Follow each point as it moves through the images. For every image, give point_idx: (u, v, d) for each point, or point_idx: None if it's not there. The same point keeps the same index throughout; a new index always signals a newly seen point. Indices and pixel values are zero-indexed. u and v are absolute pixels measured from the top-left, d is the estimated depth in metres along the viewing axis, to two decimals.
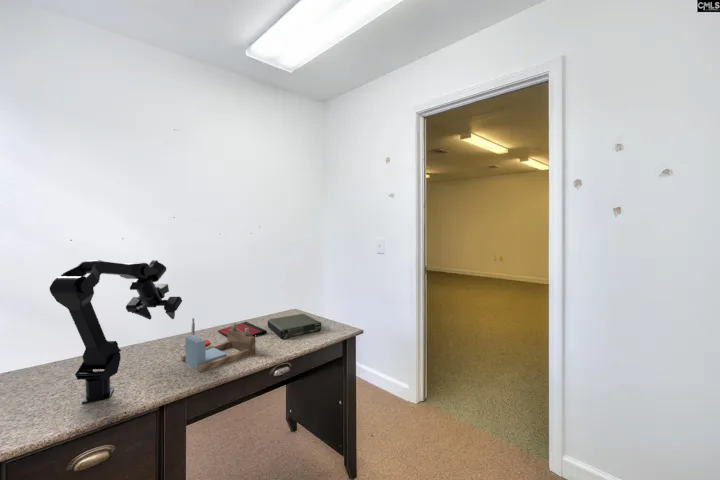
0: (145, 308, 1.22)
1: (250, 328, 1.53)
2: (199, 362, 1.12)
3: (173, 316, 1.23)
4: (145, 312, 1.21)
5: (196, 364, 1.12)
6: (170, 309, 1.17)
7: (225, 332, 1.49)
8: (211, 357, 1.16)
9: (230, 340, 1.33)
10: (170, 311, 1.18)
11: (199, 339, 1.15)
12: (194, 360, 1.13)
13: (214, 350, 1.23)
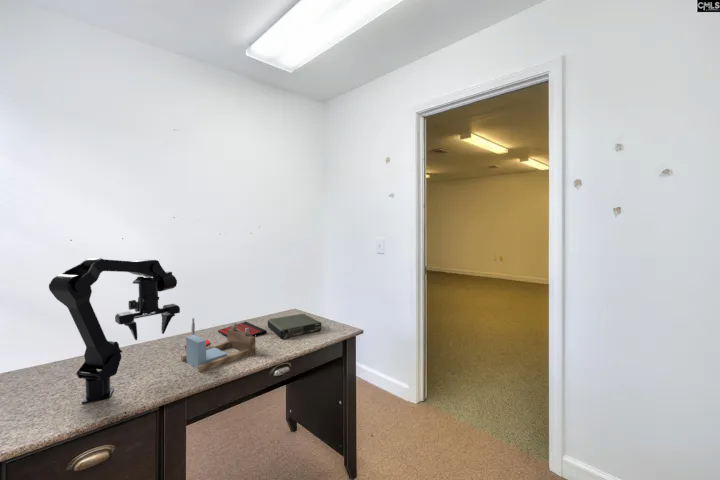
0: None
1: (250, 328, 1.53)
2: (200, 362, 1.12)
3: None
4: None
5: (196, 364, 1.12)
6: (175, 310, 1.15)
7: (225, 332, 1.49)
8: (212, 357, 1.17)
9: (230, 340, 1.33)
10: (174, 313, 1.15)
11: (200, 339, 1.15)
12: (195, 360, 1.13)
13: (215, 350, 1.23)
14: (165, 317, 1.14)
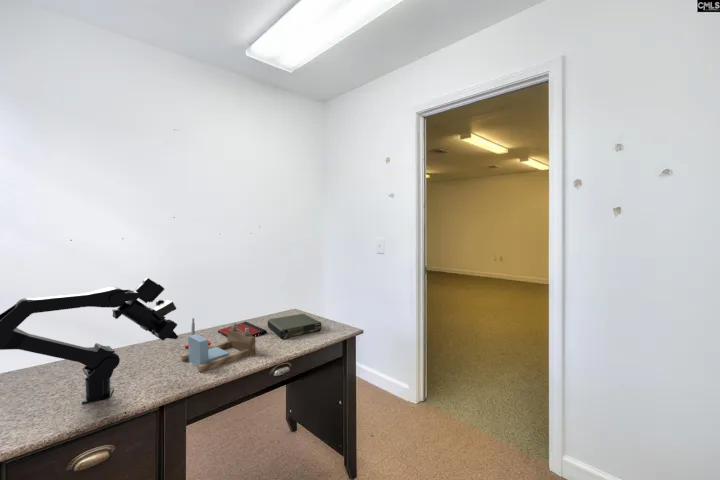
0: None
1: (250, 328, 1.53)
2: (202, 361, 1.13)
3: (173, 337, 1.09)
4: None
5: (198, 363, 1.13)
6: (159, 338, 0.99)
7: (225, 332, 1.49)
8: (214, 356, 1.17)
9: (230, 340, 1.33)
10: None
11: (202, 338, 1.15)
12: (197, 359, 1.14)
13: (217, 349, 1.24)
14: None
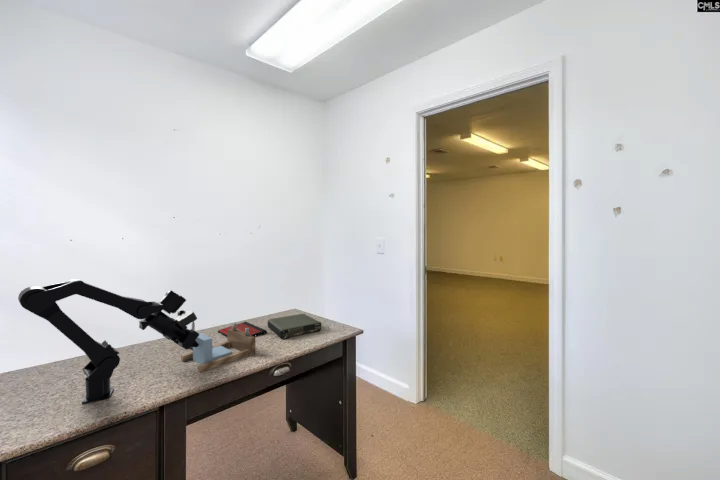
0: None
1: (250, 328, 1.53)
2: (206, 359, 1.14)
3: (194, 345, 1.15)
4: None
5: (203, 361, 1.14)
6: None
7: (225, 332, 1.49)
8: (218, 355, 1.19)
9: (230, 340, 1.33)
10: None
11: (206, 337, 1.17)
12: (201, 357, 1.15)
13: (220, 348, 1.25)
14: None
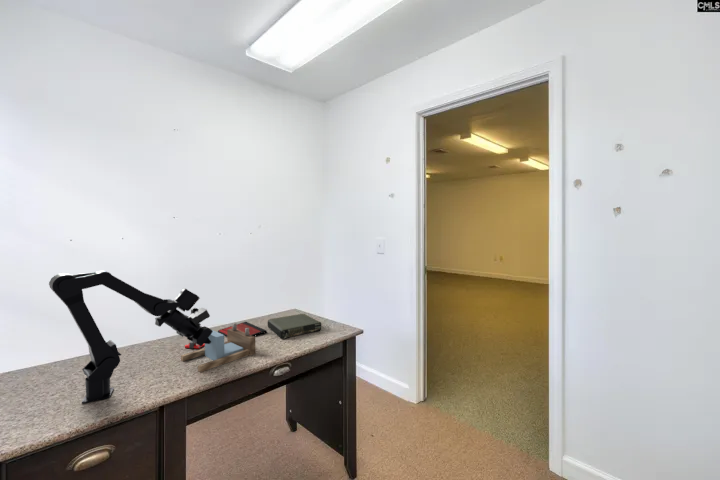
0: None
1: (250, 328, 1.53)
2: (218, 355, 1.18)
3: (207, 342, 1.18)
4: None
5: (215, 357, 1.18)
6: (197, 343, 1.08)
7: (225, 332, 1.49)
8: (229, 351, 1.22)
9: (230, 340, 1.33)
10: None
11: (218, 334, 1.20)
12: (214, 354, 1.19)
13: (231, 344, 1.29)
14: None
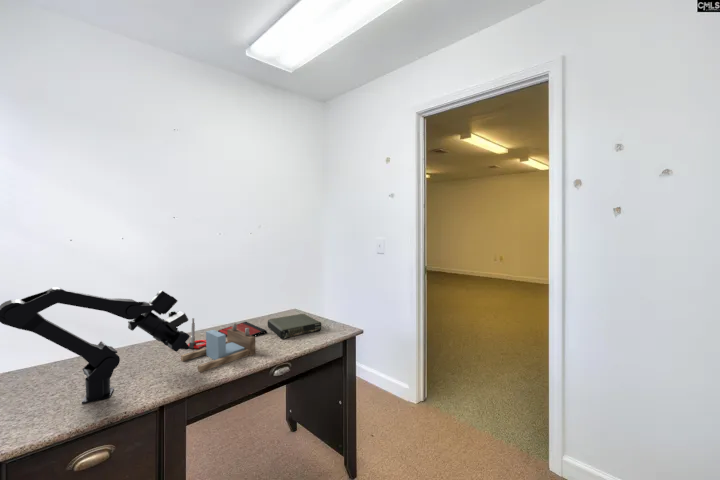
0: None
1: (250, 328, 1.53)
2: (220, 355, 1.18)
3: (185, 347, 1.12)
4: None
5: (217, 357, 1.18)
6: (172, 349, 1.02)
7: (225, 332, 1.49)
8: (231, 351, 1.23)
9: (230, 340, 1.33)
10: (174, 350, 1.03)
11: (219, 333, 1.21)
12: (215, 353, 1.19)
13: (232, 344, 1.29)
14: None
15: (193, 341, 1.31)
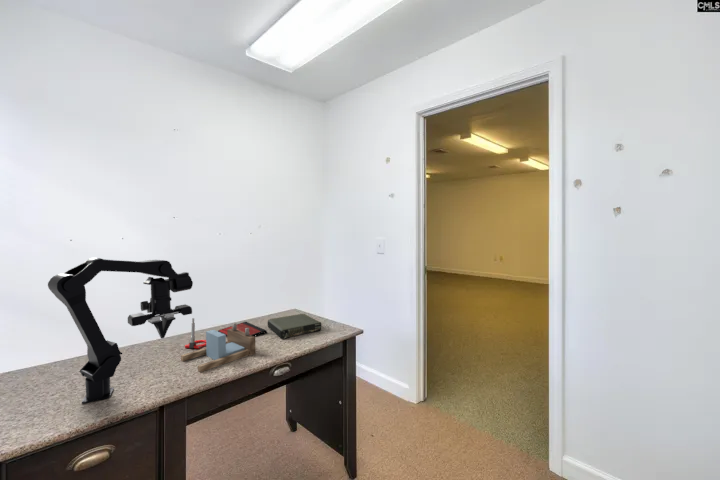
0: None
1: (250, 328, 1.53)
2: (220, 355, 1.18)
3: None
4: None
5: (217, 357, 1.18)
6: (188, 311, 1.13)
7: (225, 332, 1.49)
8: (231, 351, 1.23)
9: (230, 340, 1.33)
10: (187, 314, 1.13)
11: (219, 333, 1.21)
12: (215, 353, 1.19)
13: (232, 344, 1.29)
14: (165, 321, 1.09)
15: (193, 341, 1.31)
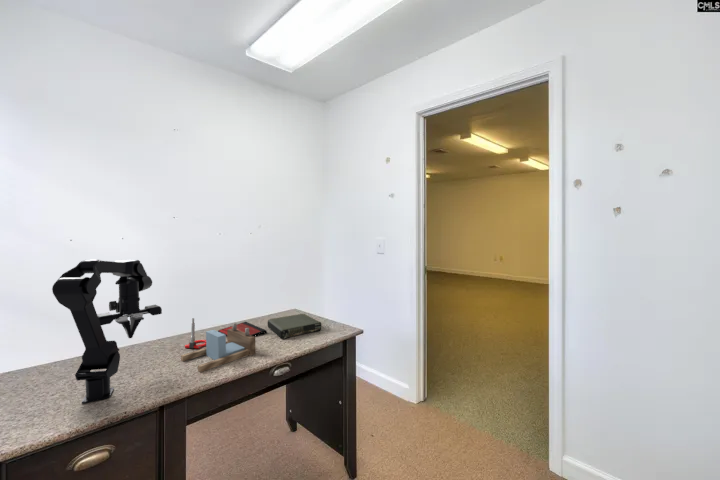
0: None
1: (250, 328, 1.53)
2: (220, 355, 1.18)
3: None
4: None
5: (217, 357, 1.18)
6: (157, 311, 1.14)
7: (225, 332, 1.49)
8: (231, 351, 1.23)
9: (230, 340, 1.33)
10: (156, 314, 1.14)
11: (219, 333, 1.21)
12: (215, 353, 1.19)
13: (232, 344, 1.29)
14: (133, 321, 1.09)
15: (193, 341, 1.31)
